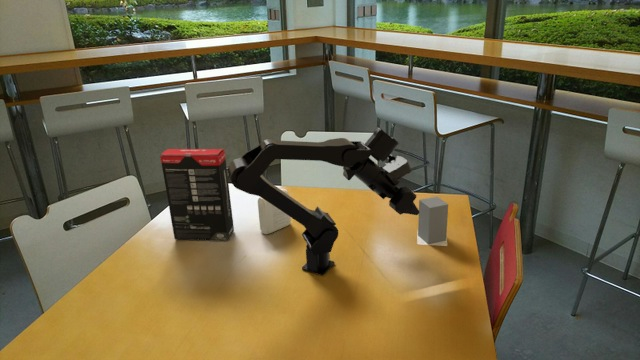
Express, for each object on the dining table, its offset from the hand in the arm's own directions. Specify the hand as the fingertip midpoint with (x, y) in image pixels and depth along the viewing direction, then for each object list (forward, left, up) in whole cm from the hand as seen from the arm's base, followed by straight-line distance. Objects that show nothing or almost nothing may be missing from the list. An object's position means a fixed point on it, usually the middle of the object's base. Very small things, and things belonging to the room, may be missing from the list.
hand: (409, 206), depth 127 cm
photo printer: (-7, +40, -13) cm, 43 cm away
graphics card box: (-21, +56, -13) cm, 61 cm away
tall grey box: (+5, -5, -11) cm, 13 cm away
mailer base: (+5, -5, -13) cm, 15 cm away
